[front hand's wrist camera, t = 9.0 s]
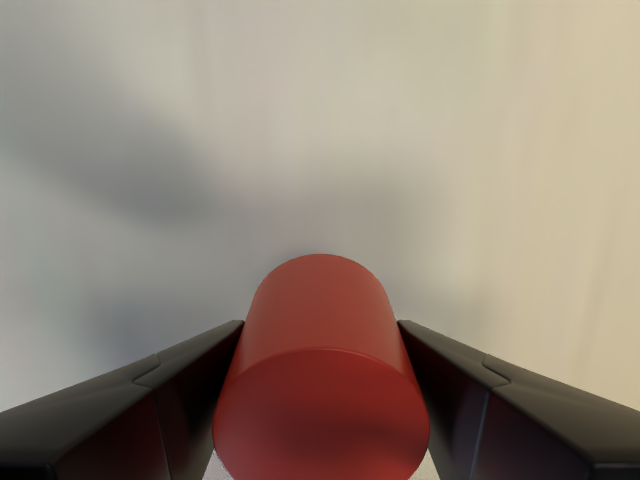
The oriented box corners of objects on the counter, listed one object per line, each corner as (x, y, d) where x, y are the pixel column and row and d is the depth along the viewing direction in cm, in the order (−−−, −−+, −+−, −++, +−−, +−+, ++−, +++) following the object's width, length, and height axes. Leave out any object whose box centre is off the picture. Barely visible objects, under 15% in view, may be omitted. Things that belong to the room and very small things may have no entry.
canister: (256, 244, 12) (213, 334, 7) (403, 262, 12) (456, 362, 7) (246, 366, 13) (208, 503, 9) (376, 380, 14) (405, 521, 9)
